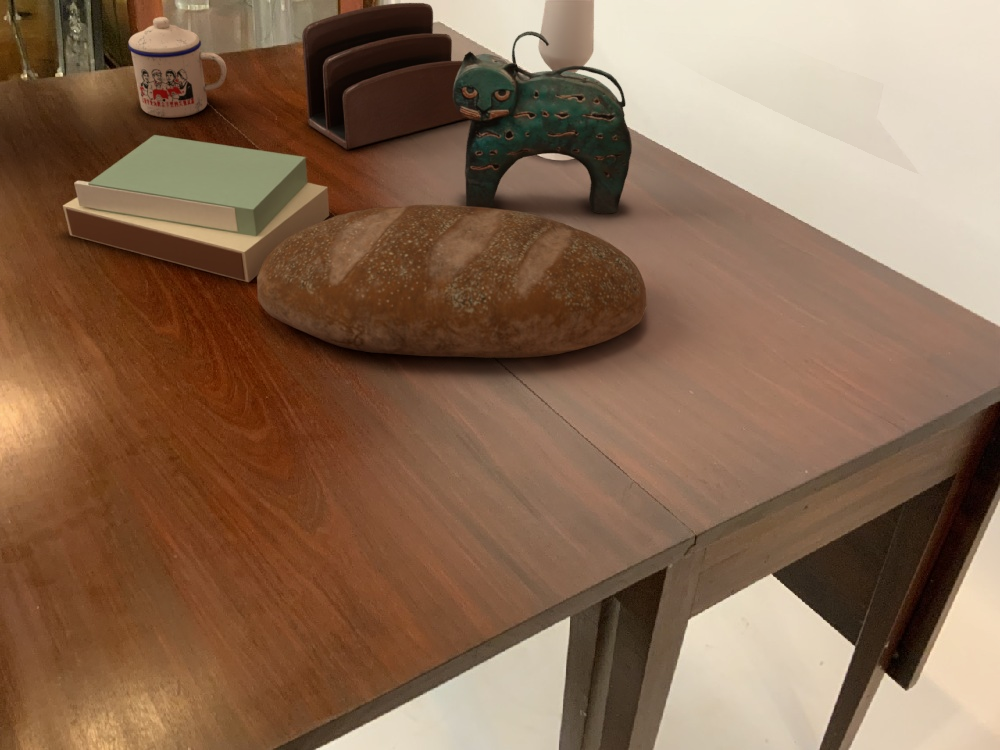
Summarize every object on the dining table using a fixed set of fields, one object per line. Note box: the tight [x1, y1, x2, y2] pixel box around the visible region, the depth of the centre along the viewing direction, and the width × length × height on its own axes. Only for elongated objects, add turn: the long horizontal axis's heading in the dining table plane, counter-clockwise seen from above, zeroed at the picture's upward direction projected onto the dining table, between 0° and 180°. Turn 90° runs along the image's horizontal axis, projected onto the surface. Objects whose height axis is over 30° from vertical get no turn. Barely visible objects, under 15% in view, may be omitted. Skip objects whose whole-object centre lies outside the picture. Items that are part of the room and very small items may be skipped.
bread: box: [256, 204, 648, 358], centre depth 92 cm, size 22×37×8 cm, turn 90°
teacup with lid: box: [127, 16, 228, 119], centre depth 128 cm, size 12×9×12 cm
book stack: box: [62, 134, 330, 283], centre depth 104 cm, size 22×16×6 cm
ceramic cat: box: [453, 30, 633, 214], centre depth 107 cm, size 20×6×20 cm, turn 91°
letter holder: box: [301, 2, 468, 151], centre depth 126 cm, size 10×20×14 cm, turn 129°
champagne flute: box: [537, 0, 595, 161], centre depth 119 cm, size 7×7×24 cm
